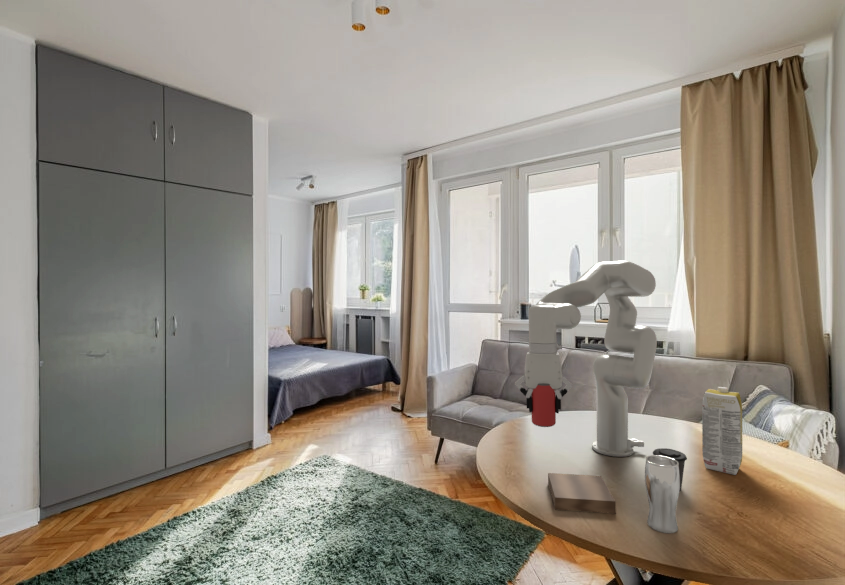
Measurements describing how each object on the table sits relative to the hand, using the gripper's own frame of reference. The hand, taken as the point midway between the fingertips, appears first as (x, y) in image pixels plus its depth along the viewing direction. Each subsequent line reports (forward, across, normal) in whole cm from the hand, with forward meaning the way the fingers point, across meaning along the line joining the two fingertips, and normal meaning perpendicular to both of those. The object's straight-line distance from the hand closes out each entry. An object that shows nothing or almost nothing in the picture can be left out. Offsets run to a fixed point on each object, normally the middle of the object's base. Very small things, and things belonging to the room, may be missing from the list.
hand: (543, 410), depth 122 cm
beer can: (+4, 0, 0) cm, 4 cm away
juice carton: (+20, -52, -15) cm, 58 cm away
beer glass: (+20, -24, +20) cm, 37 cm away
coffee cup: (+20, -33, 0) cm, 38 cm away
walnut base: (+19, -8, +10) cm, 23 cm away
